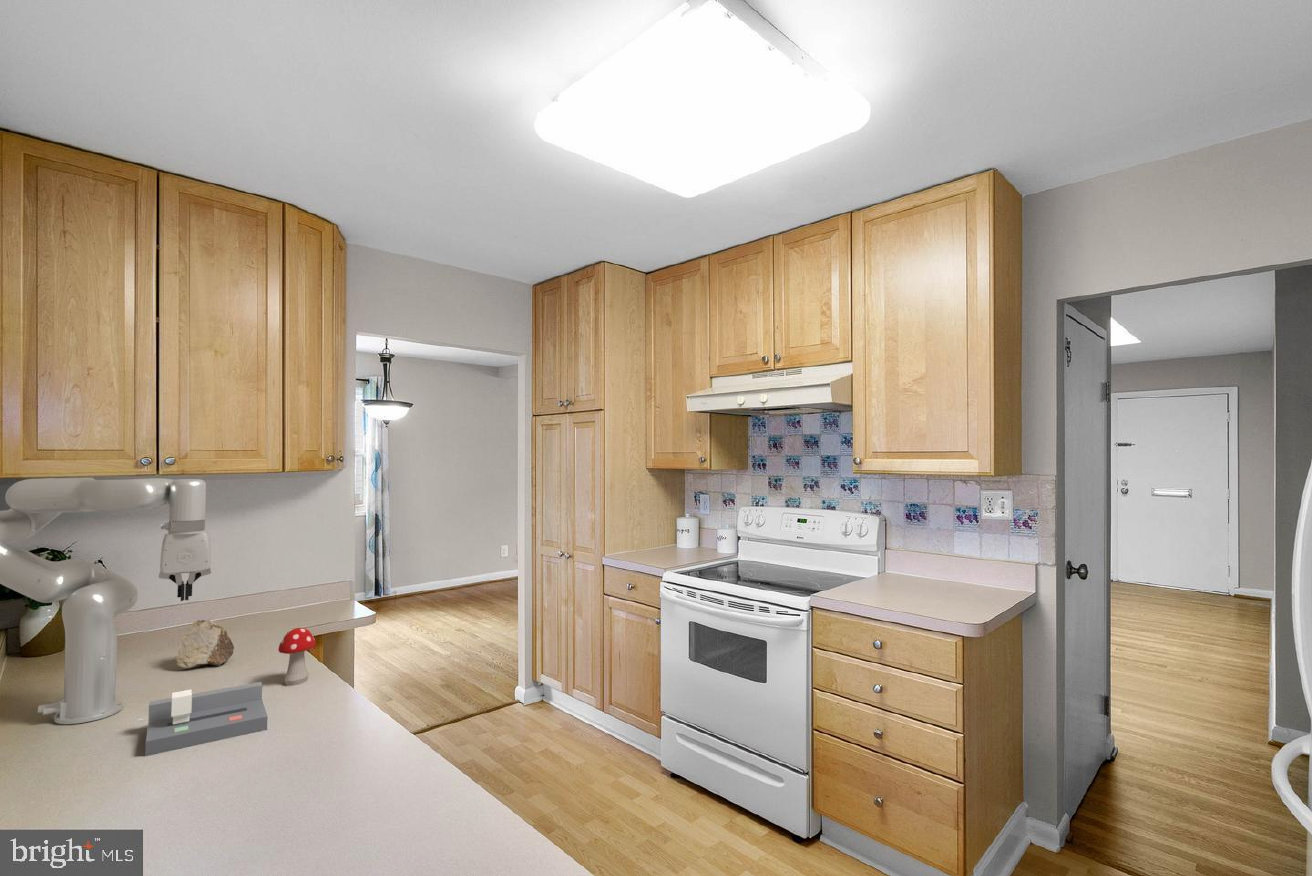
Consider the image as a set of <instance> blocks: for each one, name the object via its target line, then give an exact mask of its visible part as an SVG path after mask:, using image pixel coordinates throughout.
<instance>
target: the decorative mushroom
mask: <svg viewBox="0 0 1312 876" xmlns="http://www.w3.org/2000/svg"><path fill="white" fill-rule="evenodd" d="M314 637H315V636H313V634H312V633H311V631H310V630H309V629H307V628H304V627H296V628H293V629H291V630H289V631H288V632H287V633H286V634H285V635H284V636H283V639H282V640H281V642H280V643H279V646H278V650H277V651H278V653H280V654H285V655H287V654H288V655H289V657H288V658H289V660H288V665H287V670H286V674H285V675H284V679H283V681H284V685H286V686H296V685H301V684H302V683H305V682H306V681H307V680H308V677H309V675H310V674H309V672H308V669H307V665H306V658H305V652H307V651H309V650H312V649H314V648H315V646H316V644H317V643H316V639H315V638H314Z"/></svg>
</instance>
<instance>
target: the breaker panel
mask: <svg viewBox="0 0 1312 876" xmlns="http://www.w3.org/2000/svg"><path fill="white" fill-rule="evenodd" d="M171 711H172V697H168V698H162V699H156V700H152V701H150V700H149V702H148V723H147V729H146V738H145V752H144V755H145V757H147V756H151V755H156V754H160V753H161V754H162V753H166V752H170V751H175V750H179V749H184V748H188V747H193V746H197V745H198V746H199V745H203V744H207V743H210V742H211V743H212V742H216V741H220V740H225V739H230V738H235V737H239V736H240V737H241V736H242V735H243V736H244V735H248V734H252V733H253V734H254V733H257V732H262V730H263V731H267V730H268V713H267V711H266V707H265V705H264V702H263V683H262V681H258V682H253V683H251V682H250V683H247V684H241V685H236V686H229V687H224V688H218V689H212V690H207V691H201V692H195V693H192V709H191V713H190V719H189V721H188V722H183V723H178V724H173V717H171Z"/></svg>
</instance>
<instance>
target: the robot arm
mask: <svg viewBox="0 0 1312 876" xmlns="http://www.w3.org/2000/svg"><path fill="white" fill-rule="evenodd" d="M4 498H5V502H6V504H7V505H8V507H10V508H9V509H7V510H4V509H3V510H0V585H2V586H4V587H6V588H8V589H11V590H13V591H14V592H17V593H19V594H20V595H23V596H25V597H28V598H30V599H32V600H34V601H36V602H38V603H39V602H40V603H43V604H47V603H48V604H49V603H56V602H58V601H62V600H64V602H63V604H62V608H61V616H62V621H63V627H64V633H65V634H64V635H65V648H64V649H65V651H64V654H65V658H64V660H65V661H64V684H63V697H62V699H61V700H57V701H56V702H55V703H45V704H40V705H38V707H37V715H38V714H40V715H41V714H42V715H45V716H46V715H51V714H55V713H56V714H55V715H54V716H53V722H54V723H56V724H60V725H75V724H76V725H77V724H83V723H84V724H85V723H88V722H93V721H98V720H101V719H105V718H107V717H110V716H112V715H113V716H114V715H115V714H117V713H119V712H120V711H122V709H123V708H124V702H122V701H121V700H117V699H116V691H117V687H116V686H117V685H116V684H117V663H118V662H117V661H118V660H117V659H118V634H117V628H116V626H115V622H114V617H117V616H120V615H122V614H124V613H126V612H128V611H129V610H130V609H132V608H133V607H134V606H135V604H137V601H138V598H139V592H138V591H139V590H138V588H137V587H136V585H135V584H134V583H133V582H132V581H131V580H129V579H127V578H125V577H124V576H122V575H119V574H117V573H115V572H113V571H111V570H109V569H107V568H106V567H103V566H100V565H99V564H97V563H95V562H92V561H89V560H85V559H80V558H70V559H65V560H60V561H58V560H57V561H51V560H49V559H45V558H43V557H41V556H39V555H36V554H34V553H32V552H31V551H28V550H26V549H23V548H19V547H16V546H13V544H16V543H21V542H24V541H26V540H28V539H29V538H32V537H33V536H34V535H36V534H37V533H39V532H40V531H41V530H42V529H43V528H44V527H46V526H47V525H49V524H50V523H51V522H52V521H54V519H56V518H57V517H59V516H60V515H61V514H62V513H92V512H111V511H112V512H113V511H115V512H117V511H141V510H148V509H149V510H150V509H156V508H163V507H164V508H165V507H168V521H167V522H166V523H161V525H160V529H161V530H166V531H168V532H167V533H164V536H163V538H162V542H161V549H160V550H161V552H160V560H159V561H160V562H159V563H160V564H159V567H160V569H159V570H160V571H159V573H158V578H159V579H163V580H170V581H172V582H174V584H175V585H177V597H176V598H180V601H181V602H184V601H189V598H190V597H192V596H193V584H194V583H195V582H196V581H197V580H198V579H200V577H204V576H207V575H211V574H212V569H211V540H210V538H211V537H210V533H209V532H208V531H206V505H207V504H206V503H207V502H206V501H207V500H206V499H207V483H206V481H205V480H203V479H200V478H179V479H171V478H163V477H162V478H161V477H159V478H157V477H156V478H154V477H153V478H150V477H149V478H148V477H147V478H133V479H95V478H93V477H58V478H57V477H48V478H47V477H45V478H29V479H23V480H20V481H17V482H14V484H12V485H11V486H9V488H8V489H7V490H6V492H5V496H4ZM182 574H188V578H187V580H186V583H185V582H184V581H183V578H182V577H183V576H182Z"/></svg>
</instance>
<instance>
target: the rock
mask: <svg viewBox="0 0 1312 876" xmlns="http://www.w3.org/2000/svg"><path fill="white" fill-rule="evenodd" d="M234 650H235V645H234V643H233V642H232V639H231V638H230V636H229V634H228V633H227V630H226V628H224V626H223V625H222V626H219V625H218V624H217V623H215V622H214V621H212V620H210V619H208V620H204V619H202V620H199V619H198V620H197V621H194V622H193V623H192V625H191V626H190V627H189V628H188V629H187V630H186V632H184V635H183V636H182V637H181V638H180V640H179V642H178V652H177V654H176V655H175V658H174V660H175V663H176V664H175V665H176V666H177V667H178V668H182V669H187V670H188V669H194V668H198V667H201V666H202V667H203V666H207V665H212V666H217V667H219V666H221V665H223V664H225V663H226V662H228V660H229V659H230V658H231V657H232V656H233V654H234Z"/></svg>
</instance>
